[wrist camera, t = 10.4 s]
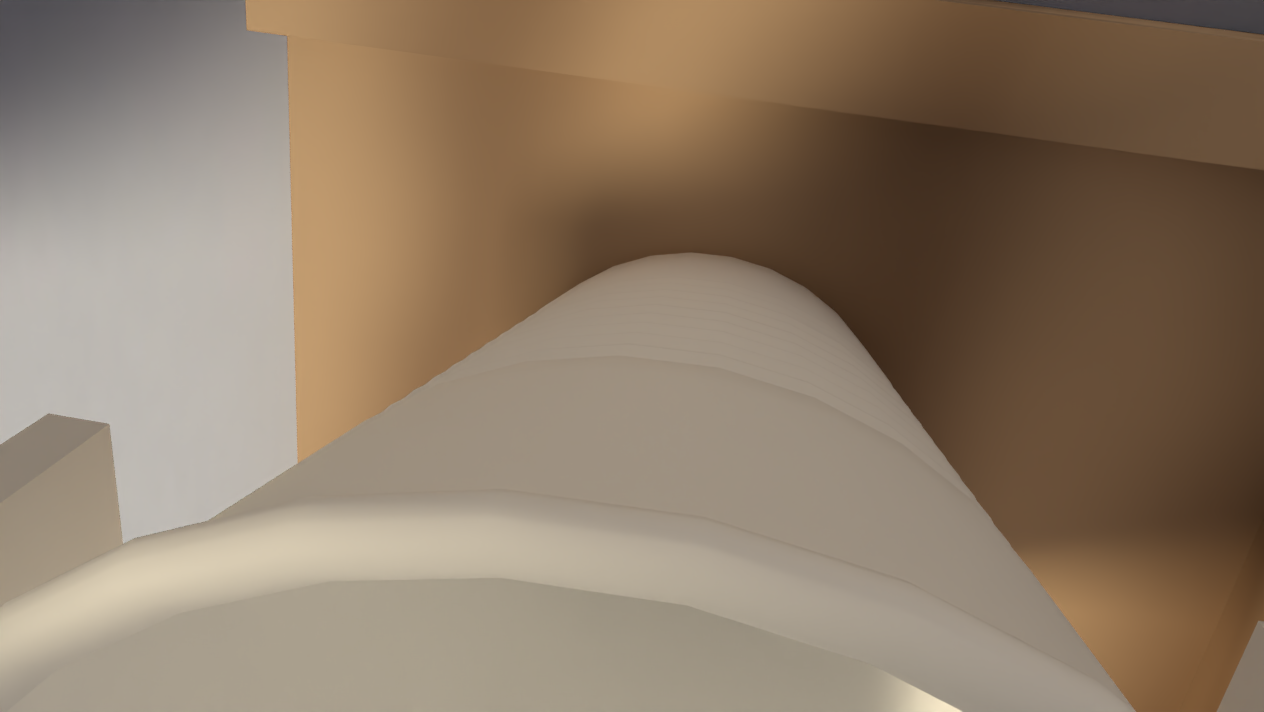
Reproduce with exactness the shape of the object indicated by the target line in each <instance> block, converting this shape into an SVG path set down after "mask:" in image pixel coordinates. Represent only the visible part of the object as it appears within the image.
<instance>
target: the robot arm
mask: <svg viewBox="0 0 1264 712" xmlns="http://www.w3.org/2000/svg"><path fill="white" fill-rule="evenodd" d="M122 544H123V539H122V531H121V522H120V513H119V505H118V496H117V487H116V478H115V470H114V461H113V452H112V444H111V435H110V426H109V424H107V423H101V422H95V421H89V420H83V419H77V418H72V417H66V416H60V415H54V414H47V415H45V416H44V417H42V418H41V419H39V420H38V421H36V422H35V423H33V424H32V425H30V426H29V427H27V428H25V429H24V430H22V431H21V432H19V433H18V434H16V435H15V436H13V437H12V438H10V439H9V440H7V441H5V442H4V443H2V444H1V445H0V607H1V606H2V605H3V604H5V603H6V602H8V601H10V600H12V599H14V598H16V597H18V596H20V595H22V594H24V593H26V592H28V591H30V590H32V589H34V588H36V587H38V586H40V585H42V584H44V583H46V582H48V581H50V580H52V579H54V578H56V577H58V576H60V575H62V574H64V573H66V572H68V571H70V570H72V569H74V568H76V567H78V566H80V565H82V564H84V563H86V562H88V561H90V560H92V559H94V558H96V557H98V556H100V555H102V554H104V553H106V552H108V551H110V550H112V549H114V548H116V547H118V546H120V545H122ZM1217 712H1264V622H1263V621H1258V623H1257V625H1256V627H1255V629H1254V631H1253V634H1252V636H1251V638H1250V640H1249V642H1248V644H1247V647H1246V649H1245V651H1244V653H1243V655H1242V658H1241V660H1240V662H1239V664H1238V666H1237V668H1236V671H1235V673H1234V675H1233V677H1232V679H1231V681H1230V684H1229V686H1228V688H1227V690H1226V692H1225V695H1224V697H1223V699H1222V701H1221V703H1220V705H1219V708H1218V710H1217Z"/></svg>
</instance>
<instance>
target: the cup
mask: <svg viewBox="0 0 1264 712" xmlns="http://www.w3.org/2000/svg"><path fill="white" fill-rule="evenodd" d="M0 712H1136V711H1135V710H1134V708H1133V707H1132V706H1131V704H1130V703H1129V702H1128V700H1127V699H1126V698H1125V696H1124V695H1123V694H1122V692H1121V691H1120V690H1119V688H1118V687H1117V686H1116V684H1115V683H1114V682H1113V680H1112V679H1111V678H1110V676H1109V675H1108V674H1107V672H1106V671H1105V669H1104V668H1103V667H1102V665H1101V664H1100V663H1099V661H1098V660H1097V659H1096V657H1095V656H1094V655H1093V653H1092V652H1091V651H1090V649H1089V648H1088V647H1087V645H1086V644H1085V643H1084V641H1083V640H1082V639H1081V637H1080V636H1079V635H1078V633H1077V632H1076V631H1075V629H1074V628H1073V627H1072V625H1071V624H1070V623H1069V621H1068V620H1067V619H1066V617H1065V616H1064V615H1063V613H1062V612H1061V611H1060V609H1059V608H1058V606H1057V605H1056V604H1055V602H1054V601H1053V600H1052V598H1051V597H1050V596H1049V594H1048V593H1047V592H1046V590H1045V589H1044V588H1043V586H1042V585H1041V584H1040V582H1039V581H1038V580H1037V578H1036V577H1035V576H1034V574H1033V573H1032V572H1031V570H1030V569H1029V568H1028V567H1027V565H1026V564H1025V563H1024V562H1023V560H1022V559H1021V558H1020V557H1019V556H1018V554H1017V553H1016V552H1015V551H1014V549H1013V548H1012V547H1011V545H1010V543H1009V542H1008V541H1007V539H1006V538H1005V537H1004V536H1003V535H1002V533H1001V532H1000V531H999V530H998V528H997V527H996V526H995V525H994V523H993V521H992V519H991V518H990V516H989V515H988V514H987V513H986V511H985V510H984V509H983V508H982V507H981V505H980V504H979V503H978V502H977V500H976V498H975V496H974V495H973V494H972V492H971V491H970V490H969V489H968V487H967V486H966V485H965V484H964V482H963V481H962V480H961V478H960V476H959V475H958V473H957V472H956V471H955V470H954V468H953V467H952V466H951V465H950V463H949V462H948V461H947V459H946V457H945V456H944V454H943V453H942V452H941V451H940V450H939V448H938V447H937V446H936V445H935V443H934V441H933V439H932V438H931V437H930V436H929V435H928V433H927V432H926V431H925V430H924V428H923V427H922V425H921V423H920V422H919V421H918V420H917V418H916V417H915V416H914V415H913V414H912V412H911V410H910V409H909V407H908V406H907V405H906V404H905V402H904V401H903V400H902V398H901V396H900V395H899V394H898V393H897V391H896V390H895V389H894V388H893V386H892V384H891V382H890V381H889V380H888V378H887V377H886V376H885V374H884V373H883V372H882V370H881V369H880V368H879V366H878V365H877V364H876V362H875V361H874V360H873V358H872V357H871V355H870V354H869V353H868V351H867V350H866V349H865V347H864V346H863V345H862V343H861V342H860V341H859V340H858V338H857V337H856V336H855V335H854V334H853V332H852V331H851V330H850V329H849V327H848V326H847V325H846V324H845V322H844V321H843V320H842V319H841V318H840V316H839V315H838V314H837V313H836V312H835V311H834V310H833V309H831V308H830V307H829V306H828V305H826V304H825V303H824V302H823V301H822V300H820V299H819V298H818V297H817V296H815V295H814V294H813V293H812V292H811V291H809V290H808V289H807V288H805V287H804V286H802V285H800V284H798V283H796V282H794V281H792V280H790V279H789V278H787V277H785V276H783V275H781V274H779V273H777V272H775V271H774V270H772V269H769V268H766V267H763V266H760V265H756V264H753V263H750V262H747V261H743V260H740V259H737V258H734V257H728V256H719V255H710V254H701V253H692V252H690V253H677V254H665V255H652V256H648V257H644V258H641V259H637V260H634V261H630V262H627V263H623V264H619V265H616V266H613V267H611V268H609V269H607V270H605V271H603V272H601V273H599V274H597V275H595V276H593V277H591V278H589V279H587V280H585V281H584V282H582V283H580V284H578V285H577V286H575V287H573V288H572V289H570V290H569V291H567V292H566V293H564V294H562V295H561V296H559V297H558V298H556V299H555V300H553V301H552V302H550V303H548V304H547V305H545V306H544V307H542V308H541V309H539V310H538V311H537V312H536V313H535V314H533V315H531V316H529V317H527V318H526V319H525V320H524V321H522V322H520V323H518V324H516V325H515V326H514V327H512V328H511V329H510V330H508V331H506V332H504V333H502V334H501V335H500V336H498V337H497V338H496V339H494V340H492V341H490V342H488V343H487V344H485V345H484V346H483V347H482V348H481V349H479V350H477V351H475V352H473V353H471V354H470V355H469V356H467V357H466V358H465V359H464V360H462V361H460V362H458V363H456V364H454V365H452V366H451V367H450V368H449V369H448V370H446V371H445V372H443V373H441V374H439V375H437V376H435V377H434V378H432V379H431V380H430V381H429V382H428V383H426V384H425V385H423V386H421V387H419V388H417V389H415V390H413V391H412V392H411V393H410V394H408V395H407V396H406V397H405V398H403V399H401V400H399V401H397V402H395V403H393V404H391V405H390V406H389V407H387V408H386V409H385V410H384V411H383V412H381V413H379V414H377V415H375V416H373V417H371V418H369V419H367V420H365V421H364V422H362V423H360V424H359V425H357V426H356V427H354V428H353V429H351V430H349V431H348V432H346V433H345V434H343V435H342V436H340V437H338V438H337V439H335V440H334V441H332V442H331V443H329V444H327V445H326V446H324V447H323V448H321V449H320V450H318V451H316V452H315V453H313V454H312V455H310V456H309V457H307V458H306V459H304V460H302V461H301V462H299V463H298V464H296V465H295V466H293V467H291V468H290V469H288V470H287V471H285V472H284V473H282V474H280V475H279V476H277V477H276V478H274V479H273V480H271V481H269V482H268V483H266V484H265V485H263V486H262V487H260V488H258V489H257V490H255V491H254V492H252V493H251V494H249V495H247V496H246V497H244V498H243V499H241V500H240V501H238V502H236V503H235V504H233V505H232V506H230V507H229V508H227V509H226V510H224V511H222V512H221V513H219V514H218V515H216V516H215V517H213V518H211V519H210V520H208V521H205V522H201V523H196V524H192V525H188V526H184V527H179V528H175V529H171V530H167V531H163V532H158V533H154V534H150V535H146V536H142V537H137V538H134V539H132V540H130V541H128V542H126V543H124V544H122V545H120V546H118V547H116V548H114V549H112V550H110V551H108V552H106V553H104V554H102V555H100V556H98V557H96V558H94V559H92V560H90V561H88V562H86V563H84V564H82V565H80V566H78V567H76V568H74V569H72V570H70V571H68V572H66V573H64V574H62V575H60V576H58V577H56V578H54V579H52V580H50V581H48V582H46V583H44V584H42V585H40V586H38V587H36V588H34V589H32V590H30V591H28V592H26V593H24V594H22V595H20V596H18V597H16V598H14V599H12V600H10V601H8V602H6V603H5V604H3V605H2V606H1V607H0Z"/></svg>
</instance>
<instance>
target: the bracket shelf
mask: <svg viewBox="0 0 1264 712" xmlns="http://www.w3.org/2000/svg"><path fill="white" fill-rule="evenodd" d="M245 1H246V26H247V30H249V31H256V32H263V33H271V34H278V35H285V36H287V50H288V90H289V130H290V170H291V210H292V250H293V290H294V330H295V371H296V411H297V451H298V463H299V462H301V461H302V460H304V459H306V458H307V457H309V456H310V455H312V454H313V453H315V452H316V451H318V450H320V449H321V448H323V447H324V446H326V445H327V444H329V443H331V442H332V441H334V440H335V439H337V438H338V437H340V436H342V435H343V434H345V433H346V432H348V431H349V430H351V429H353V428H354V427H356V426H357V425H359V424H360V423H362V422H364V421H365V420H367V419H369V418H371V417H373V416H375V415H377V414H379V413H381V412H383V411H384V410H385V409H386V408H387V407H389V406H390V405H391V404H393V403H395V402H397V401H399V400H401V399H403V398H405V397H406V396H407V395H408V394H410V393H411V392H412V391H413V390H415V389H417V388H419V387H421V386H423V385H425V384H426V383H428V382H429V381H430V380H431V379H432V378H434V377H435V376H437V375H439V374H441V373H443V372H445V371H446V370H448V369H449V368H450V367H451V366H452V365H454V364H456V363H458V362H460V361H462V360H464V359H465V358H466V357H467V356H469V355H470V354H471V353H473V352H475V351H477V350H479V349H481V348H482V347H483V346H484V345H485V344H487V343H488V342H490V341H492V340H494V339H496V338H497V337H498V336H500V335H501V334H502V333H504V332H506V331H508V330H510V329H511V328H512V327H514V326H515V325H516V324H518V323H520V322H522V321H524V320H525V319H526V318H527V317H529V316H531V315H533V314H535V313H536V312H537V311H538V310H539V309H541V308H542V307H544V306H545V305H547V304H548V303H550V302H552V301H553V300H555V299H556V298H558V297H559V296H561V295H562V294H564V293H566V292H567V291H569V290H570V289H572V288H573V287H575V286H577V285H578V284H580V283H582V282H584V281H585V280H587V279H589V278H591V277H593V276H595V275H597V274H599V273H601V272H603V271H605V270H607V269H609V268H611V267H613V266H616V265H619V264H623V263H627V262H630V261H634V260H637V259H641V258H644V257H648V256H652V255H665V254H677V253H690V252H692V253H701V254H710V255H719V256H728V257H734V258H737V259H740V260H743V261H747V262H750V263H753V264H756V265H760V266H763V267H766V268H769V269H772V270H774V271H775V272H777V273H779V274H781V275H783V276H785V277H787V278H789V279H790V280H792V281H794V282H796V283H798V284H800V285H802V286H804V287H805V288H807V289H808V290H809V291H811V292H812V293H813V294H814V295H815V296H817V297H818V298H819V299H820V300H822V301H823V302H824V303H825V304H826V305H828V306H829V307H830V308H831V309H833V310H834V311H835V312H836V313H837V314H838V315H839V316H840V318H841V319H842V320H843V321H844V322H845V324H846V325H847V326H848V327H849V329H850V330H851V331H852V332H853V334H854V335H855V336H856V337H857V338H858V340H859V341H860V342H861V343H862V345H863V346H864V347H865V349H866V350H867V351H868V353H869V354H870V355H871V357H872V358H873V360H874V361H875V362H876V364H877V365H878V366H879V368H880V369H881V370H882V372H883V373H884V374H885V376H886V377H887V378H888V380H889V381H890V382H891V384H892V386H893V388H894V389H895V390H896V391H897V393H898V394H899V395H900V396H901V398H902V400H903V401H904V402H905V404H906V405H907V406H908V407H909V409H910V410H911V412H912V414H913V415H914V416H915V417H916V418H917V420H918V421H919V422H920V423H921V425H922V427H923V428H924V430H925V431H926V432H927V433H928V435H929V436H930V437H931V438H932V439H933V441H934V443H935V445H936V446H937V447H938V448H939V450H940V451H941V452H942V453H943V454H944V456H945V457H946V459H947V461H948V462H949V463H950V465H951V466H952V467H953V468H954V470H955V471H956V472H957V473H958V475H959V476H960V478H961V480H962V481H963V482H964V484H965V485H966V486H967V487H968V489H969V490H970V491H971V492H972V494H973V495H974V496H975V498H976V500H977V502H978V503H979V504H980V505H981V507H982V508H983V509H984V510H985V511H986V513H987V514H988V515H989V516H990V518H991V519H992V521H993V523H994V525H995V526H996V527H997V528H998V530H999V531H1000V532H1001V533H1002V535H1003V536H1004V537H1005V538H1006V539H1007V541H1008V542H1009V543H1010V545H1011V547H1012V548H1013V549H1014V551H1015V552H1016V553H1017V554H1018V556H1019V557H1020V558H1021V559H1022V560H1023V562H1024V563H1025V564H1026V565H1027V567H1028V568H1029V569H1030V570H1031V572H1032V573H1033V574H1034V576H1035V577H1036V578H1037V580H1038V581H1039V582H1040V584H1041V585H1042V586H1043V588H1044V589H1045V590H1046V592H1047V593H1048V594H1049V596H1050V597H1051V598H1052V600H1053V601H1054V602H1055V604H1056V605H1057V606H1058V608H1059V609H1060V611H1061V612H1062V613H1063V615H1064V616H1065V617H1066V619H1067V620H1068V621H1069V623H1070V624H1071V625H1072V627H1073V628H1074V629H1075V631H1076V632H1077V633H1078V635H1079V636H1080V637H1081V639H1082V640H1083V641H1084V643H1085V644H1086V645H1087V647H1088V648H1089V649H1090V651H1091V652H1092V653H1093V655H1094V656H1095V657H1096V659H1097V660H1098V661H1099V663H1100V664H1101V665H1102V667H1103V668H1104V669H1105V671H1106V672H1107V674H1108V675H1109V676H1110V678H1111V679H1112V680H1113V682H1114V683H1115V684H1116V686H1117V687H1118V688H1119V690H1120V691H1121V692H1122V694H1123V695H1124V696H1125V698H1126V699H1127V700H1128V702H1129V703H1130V704H1131V706H1132V707H1133V708H1134V710H1135V711H1136V712H1217V710H1218V708H1219V705H1220V703H1221V701H1222V699H1223V697H1224V695H1225V692H1226V690H1227V688H1228V686H1229V684H1230V681H1231V679H1232V677H1233V675H1234V673H1235V671H1236V668H1237V666H1238V664H1239V662H1240V660H1241V658H1242V655H1243V653H1244V651H1245V649H1246V647H1247V644H1248V642H1249V640H1250V638H1251V636H1252V634H1253V631H1254V629H1255V627H1256V625H1257V623H1258V621H1263V622H1264V35H1263V34H1256V33H1248V32H1240V31H1232V30H1224V29H1216V28H1208V27H1200V26H1192V25H1184V24H1176V23H1168V22H1160V21H1152V20H1145V19H1137V18H1129V17H1121V16H1113V15H1105V14H1097V13H1089V12H1081V11H1073V10H1065V9H1057V8H1049V7H1042V6H1034V5H1026V4H1018V3H1010V2H1002V1H994V0H245Z"/></svg>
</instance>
